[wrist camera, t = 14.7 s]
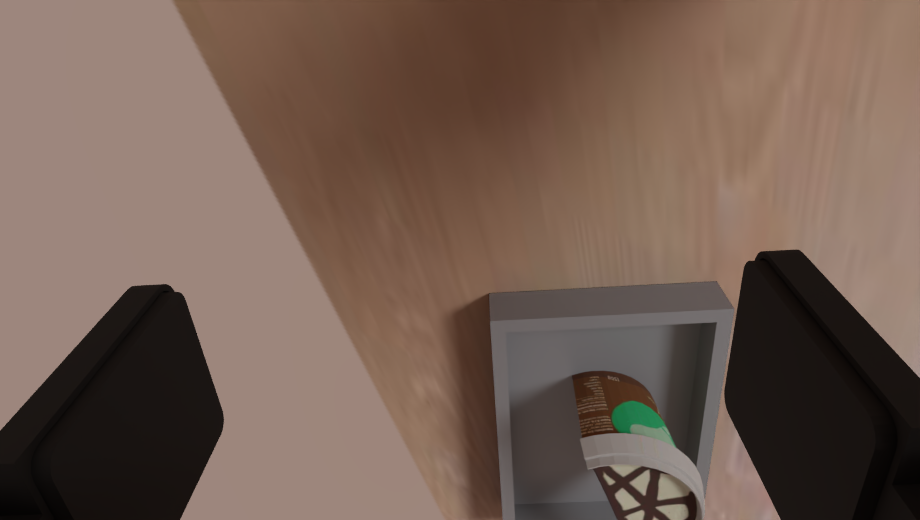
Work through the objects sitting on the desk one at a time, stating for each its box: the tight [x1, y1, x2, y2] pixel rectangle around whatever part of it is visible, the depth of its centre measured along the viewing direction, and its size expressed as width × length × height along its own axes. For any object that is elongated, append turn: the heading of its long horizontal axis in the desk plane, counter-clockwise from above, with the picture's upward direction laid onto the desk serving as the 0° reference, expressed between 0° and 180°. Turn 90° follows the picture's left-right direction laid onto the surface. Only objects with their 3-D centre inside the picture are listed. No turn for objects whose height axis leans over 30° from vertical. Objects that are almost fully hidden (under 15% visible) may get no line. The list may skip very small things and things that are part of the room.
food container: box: [572, 371, 705, 520], centre depth 45 cm, size 12×6×10 cm, turn 24°
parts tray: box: [489, 281, 734, 520], centre depth 49 cm, size 16×22×4 cm
